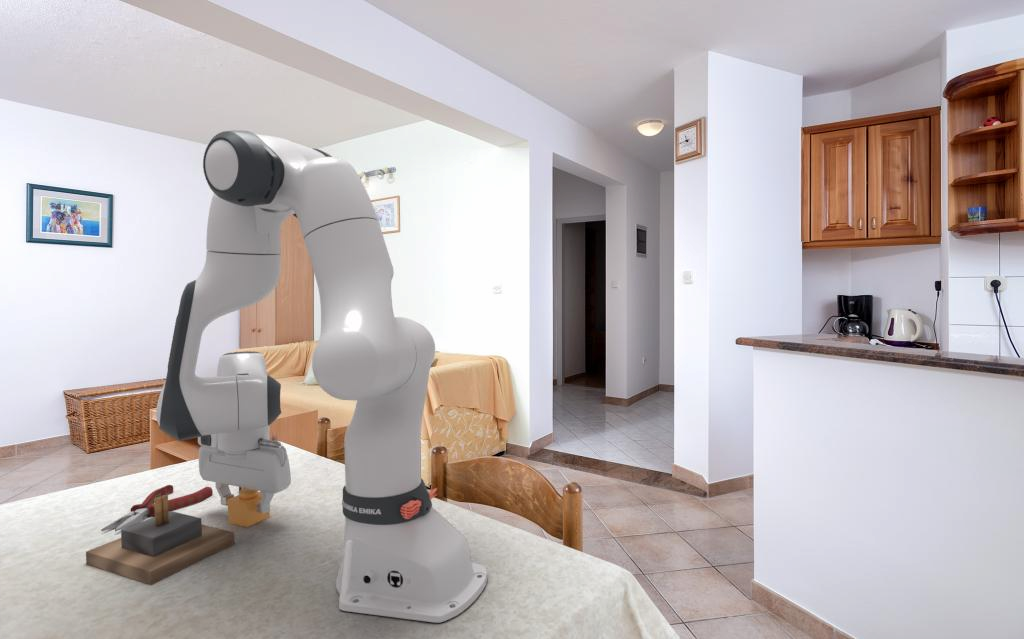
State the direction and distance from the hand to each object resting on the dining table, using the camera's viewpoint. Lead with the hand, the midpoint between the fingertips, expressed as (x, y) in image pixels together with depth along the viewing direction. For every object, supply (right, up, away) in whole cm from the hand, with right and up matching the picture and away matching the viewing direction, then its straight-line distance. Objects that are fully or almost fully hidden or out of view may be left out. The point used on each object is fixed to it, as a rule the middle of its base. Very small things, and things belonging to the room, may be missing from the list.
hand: (245, 508), depth 99 cm
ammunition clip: (-6, -2, +18) cm, 19 cm away
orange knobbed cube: (+1, -2, 0) cm, 2 cm away
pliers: (-22, -3, +6) cm, 23 cm away
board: (-7, -3, -13) cm, 15 cm away
